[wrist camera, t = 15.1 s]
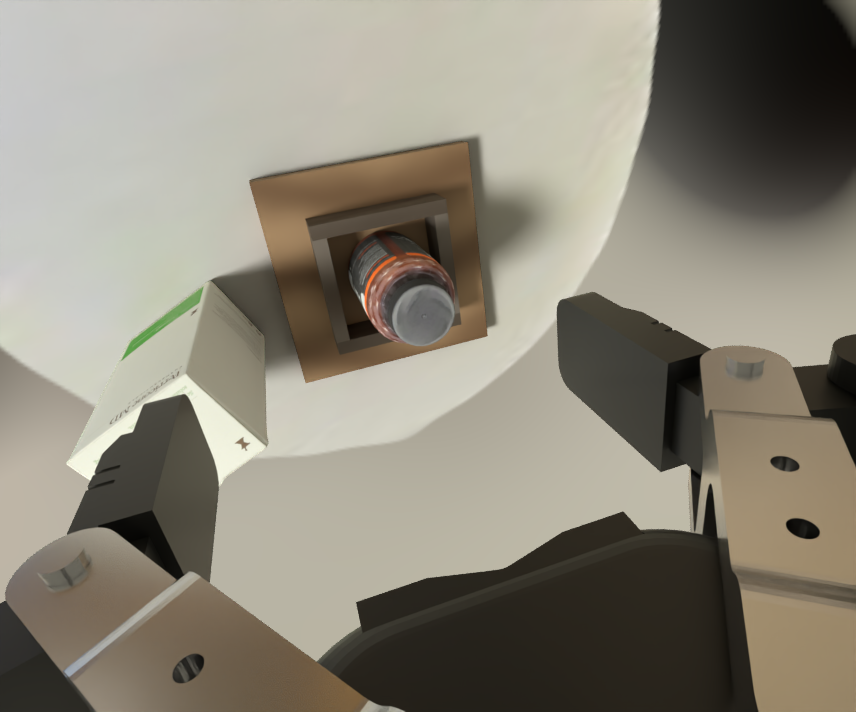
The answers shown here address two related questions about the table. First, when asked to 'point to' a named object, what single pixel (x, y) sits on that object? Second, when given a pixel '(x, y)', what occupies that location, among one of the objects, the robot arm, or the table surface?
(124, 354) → the skincare box
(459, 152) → the cup holder
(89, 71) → the table surface
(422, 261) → the supplement bottle
